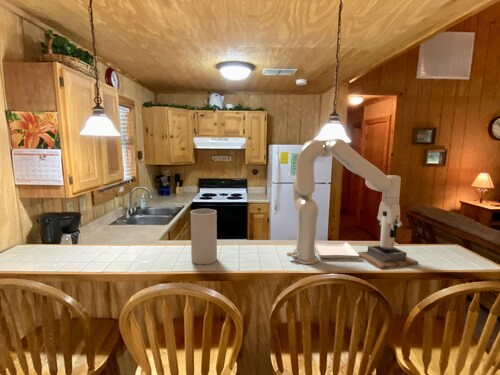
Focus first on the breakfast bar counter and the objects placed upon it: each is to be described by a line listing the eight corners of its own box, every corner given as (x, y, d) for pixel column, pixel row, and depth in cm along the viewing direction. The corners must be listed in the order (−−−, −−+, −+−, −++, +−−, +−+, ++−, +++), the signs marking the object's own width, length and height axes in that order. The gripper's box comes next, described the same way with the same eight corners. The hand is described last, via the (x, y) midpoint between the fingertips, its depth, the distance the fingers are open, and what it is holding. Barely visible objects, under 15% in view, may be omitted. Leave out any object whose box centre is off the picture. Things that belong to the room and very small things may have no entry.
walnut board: (380, 269, 128) (380, 266, 128) (356, 255, 145) (356, 252, 145) (418, 264, 134) (418, 261, 133) (390, 251, 151) (390, 249, 151)
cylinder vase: (203, 253, 145) (202, 207, 142) (221, 258, 139) (221, 210, 135) (186, 261, 134) (185, 212, 131) (205, 267, 128) (205, 215, 125)
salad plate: (360, 261, 138) (360, 255, 137) (318, 260, 138) (318, 254, 138) (346, 246, 159) (346, 241, 158) (309, 246, 159) (310, 240, 159)
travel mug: (396, 249, 135) (400, 210, 133) (383, 249, 135) (386, 210, 133) (390, 245, 142) (393, 207, 139) (377, 245, 142) (380, 207, 139)
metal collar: (384, 262, 132) (385, 255, 131) (367, 253, 144) (367, 246, 143) (405, 260, 135) (406, 252, 134) (387, 251, 147) (387, 244, 146)
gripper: (372, 197, 143) (369, 230, 145) (397, 203, 126) (394, 241, 128) (384, 197, 144) (381, 229, 147) (410, 203, 128) (407, 240, 130)
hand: (387, 234), depth 138 cm, fingers closed on travel mug, 6 cm apart
